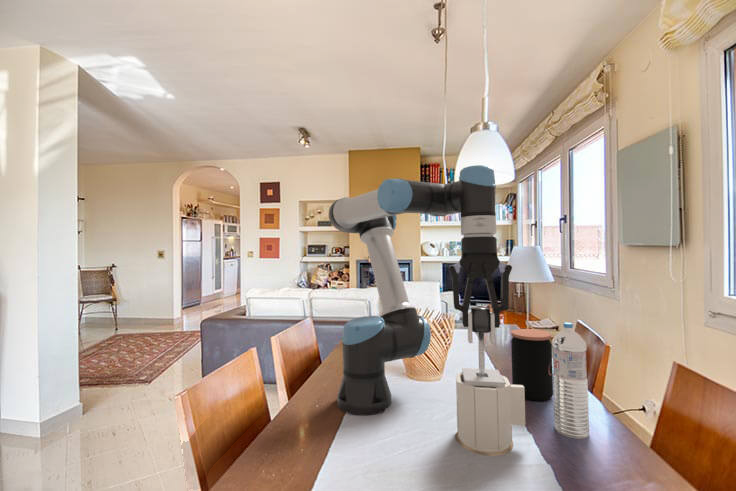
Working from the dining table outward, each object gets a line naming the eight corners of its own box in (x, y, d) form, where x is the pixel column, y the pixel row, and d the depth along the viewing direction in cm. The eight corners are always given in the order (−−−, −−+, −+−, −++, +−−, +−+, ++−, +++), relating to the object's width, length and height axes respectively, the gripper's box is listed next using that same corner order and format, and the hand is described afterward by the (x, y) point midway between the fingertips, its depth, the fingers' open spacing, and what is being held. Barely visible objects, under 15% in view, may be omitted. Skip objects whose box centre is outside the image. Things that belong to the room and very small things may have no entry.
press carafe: (459, 450, 71) (457, 382, 71) (456, 424, 82) (455, 365, 82) (532, 457, 68) (530, 386, 68) (519, 429, 79) (517, 368, 79)
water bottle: (557, 423, 83) (554, 319, 83) (591, 432, 78) (587, 322, 79) (551, 435, 77) (548, 324, 78) (587, 445, 73) (583, 327, 74)
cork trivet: (457, 455, 70) (457, 452, 70) (454, 426, 82) (454, 423, 82) (519, 461, 68) (519, 458, 68) (507, 430, 80) (507, 427, 80)
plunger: (464, 415, 72) (462, 311, 73) (461, 398, 80) (459, 305, 81) (506, 418, 70) (504, 311, 71) (499, 401, 78) (497, 305, 79)
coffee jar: (558, 404, 93) (556, 337, 93) (516, 401, 95) (515, 336, 95) (546, 389, 103) (544, 329, 104) (509, 387, 105) (507, 328, 106)
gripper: (439, 236, 74) (442, 345, 74) (523, 234, 71) (526, 348, 70) (439, 238, 82) (441, 336, 81) (515, 236, 78) (518, 339, 78)
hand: (481, 341), depth 76 cm, fingers closed on plunger, 4 cm apart
